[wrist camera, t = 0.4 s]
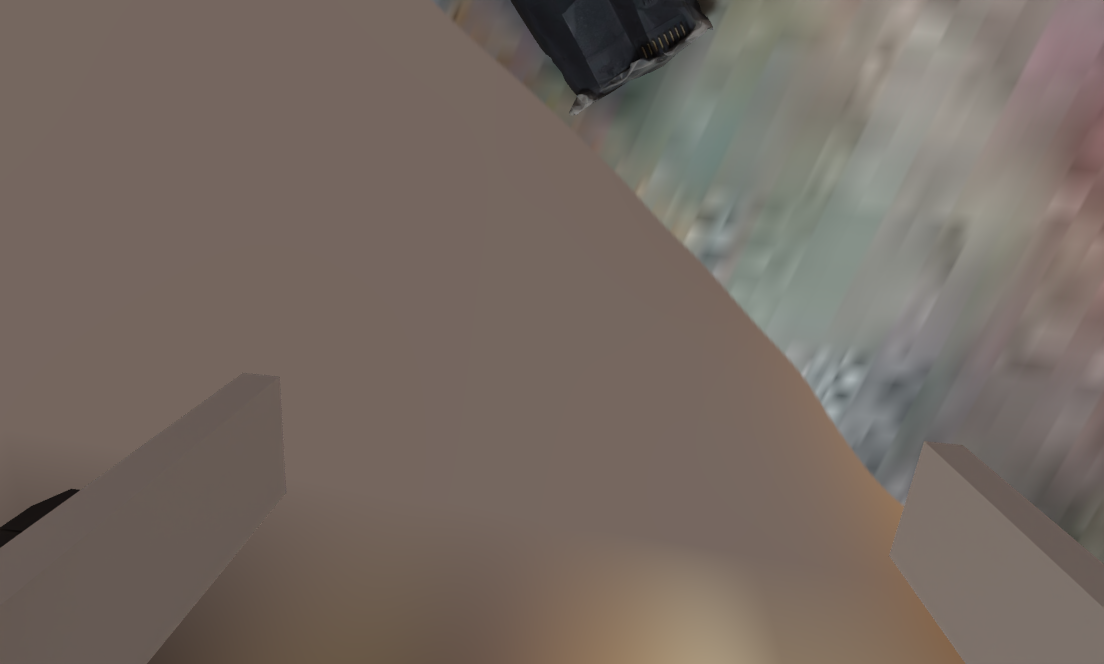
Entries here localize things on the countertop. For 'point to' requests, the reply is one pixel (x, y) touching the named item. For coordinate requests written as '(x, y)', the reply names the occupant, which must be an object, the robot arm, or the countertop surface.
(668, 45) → the electronic device
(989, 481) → the robot arm
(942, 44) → the countertop surface
